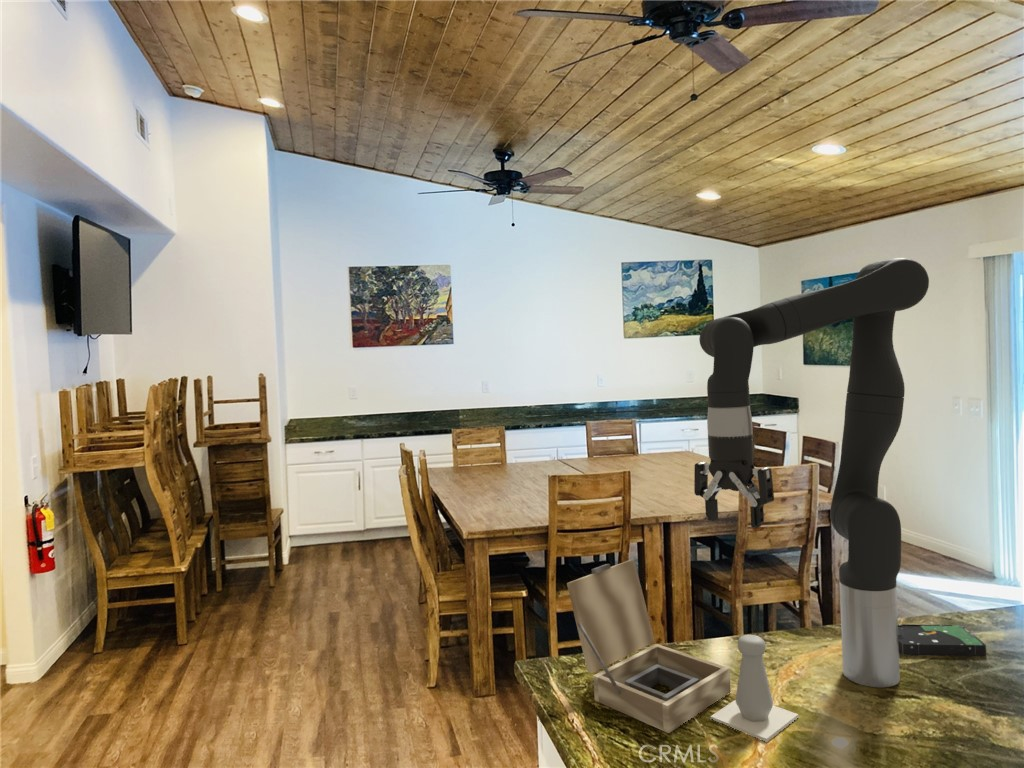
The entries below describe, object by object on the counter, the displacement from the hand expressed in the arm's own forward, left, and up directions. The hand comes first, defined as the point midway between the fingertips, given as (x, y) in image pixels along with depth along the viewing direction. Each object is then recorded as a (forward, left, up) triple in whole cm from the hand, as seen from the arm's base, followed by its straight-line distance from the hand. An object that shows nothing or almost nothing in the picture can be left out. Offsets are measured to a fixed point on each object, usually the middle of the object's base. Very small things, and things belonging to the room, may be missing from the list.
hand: (734, 523), depth 125 cm
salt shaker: (+7, +7, -30) cm, 31 cm away
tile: (+7, +6, -30) cm, 32 cm away
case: (+12, -10, -30) cm, 34 cm away
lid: (+11, -19, -17) cm, 28 cm away
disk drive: (-41, +17, -31) cm, 54 cm away
